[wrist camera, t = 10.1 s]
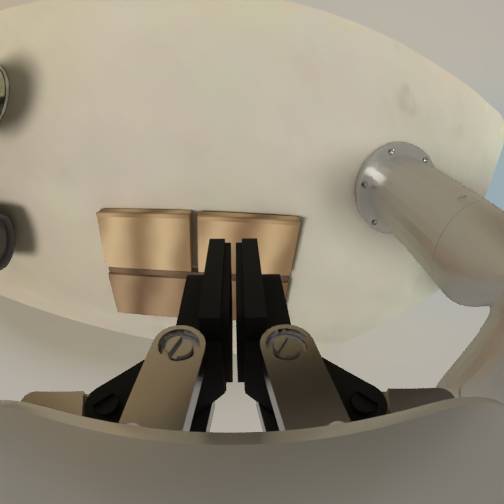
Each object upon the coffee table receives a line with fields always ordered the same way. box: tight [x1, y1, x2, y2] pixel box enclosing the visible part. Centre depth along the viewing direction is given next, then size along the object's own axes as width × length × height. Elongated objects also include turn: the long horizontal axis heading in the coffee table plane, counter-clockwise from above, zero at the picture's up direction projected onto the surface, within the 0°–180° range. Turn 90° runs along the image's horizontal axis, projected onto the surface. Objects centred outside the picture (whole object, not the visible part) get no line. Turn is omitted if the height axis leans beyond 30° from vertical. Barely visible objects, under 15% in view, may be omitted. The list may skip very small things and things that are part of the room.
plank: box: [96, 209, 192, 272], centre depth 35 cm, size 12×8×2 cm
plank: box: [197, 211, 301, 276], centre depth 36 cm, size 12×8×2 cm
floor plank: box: [109, 267, 289, 320], centre depth 40 cm, size 25×8×2 cm, turn 85°
